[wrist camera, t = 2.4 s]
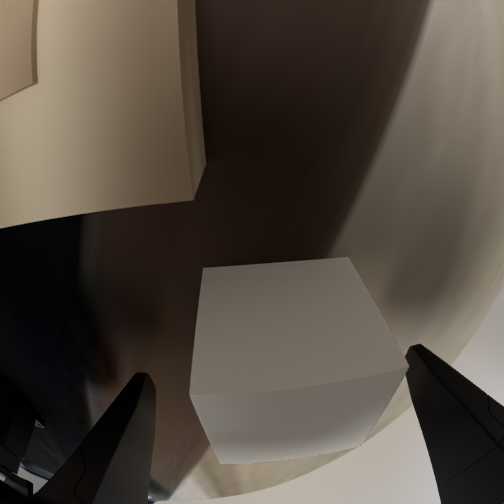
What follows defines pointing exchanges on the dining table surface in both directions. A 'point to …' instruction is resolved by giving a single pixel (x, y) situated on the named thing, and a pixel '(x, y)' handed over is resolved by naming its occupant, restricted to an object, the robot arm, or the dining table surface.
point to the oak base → (97, 106)
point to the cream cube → (290, 360)
